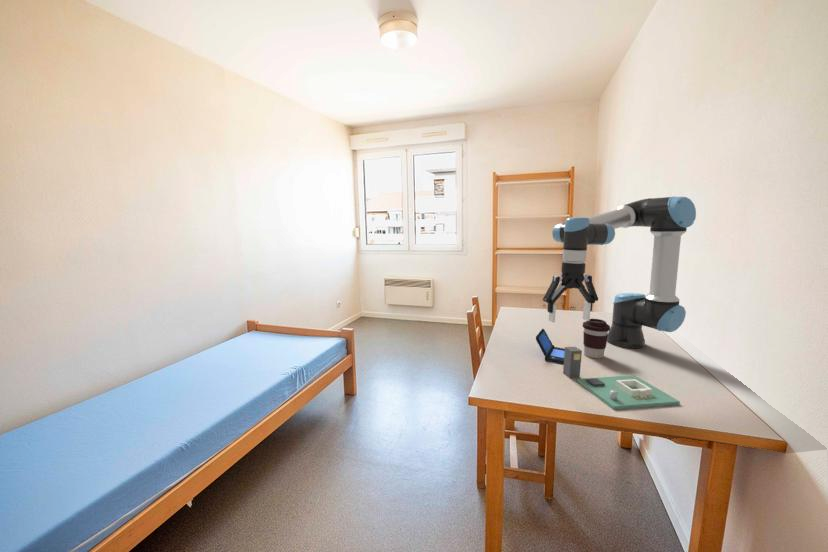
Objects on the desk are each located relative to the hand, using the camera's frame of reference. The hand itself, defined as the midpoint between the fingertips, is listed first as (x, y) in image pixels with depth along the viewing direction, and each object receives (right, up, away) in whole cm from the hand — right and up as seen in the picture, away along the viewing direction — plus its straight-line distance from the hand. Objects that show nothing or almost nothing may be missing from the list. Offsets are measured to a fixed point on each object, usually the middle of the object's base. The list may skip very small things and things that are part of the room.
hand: (568, 320), depth 122 cm
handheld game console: (+3, -18, +19) cm, 26 cm away
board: (+13, -22, -11) cm, 28 cm away
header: (+15, -21, -12) cm, 29 cm away
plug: (+1, -20, +1) cm, 20 cm away
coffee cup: (+19, -17, +19) cm, 32 cm away
